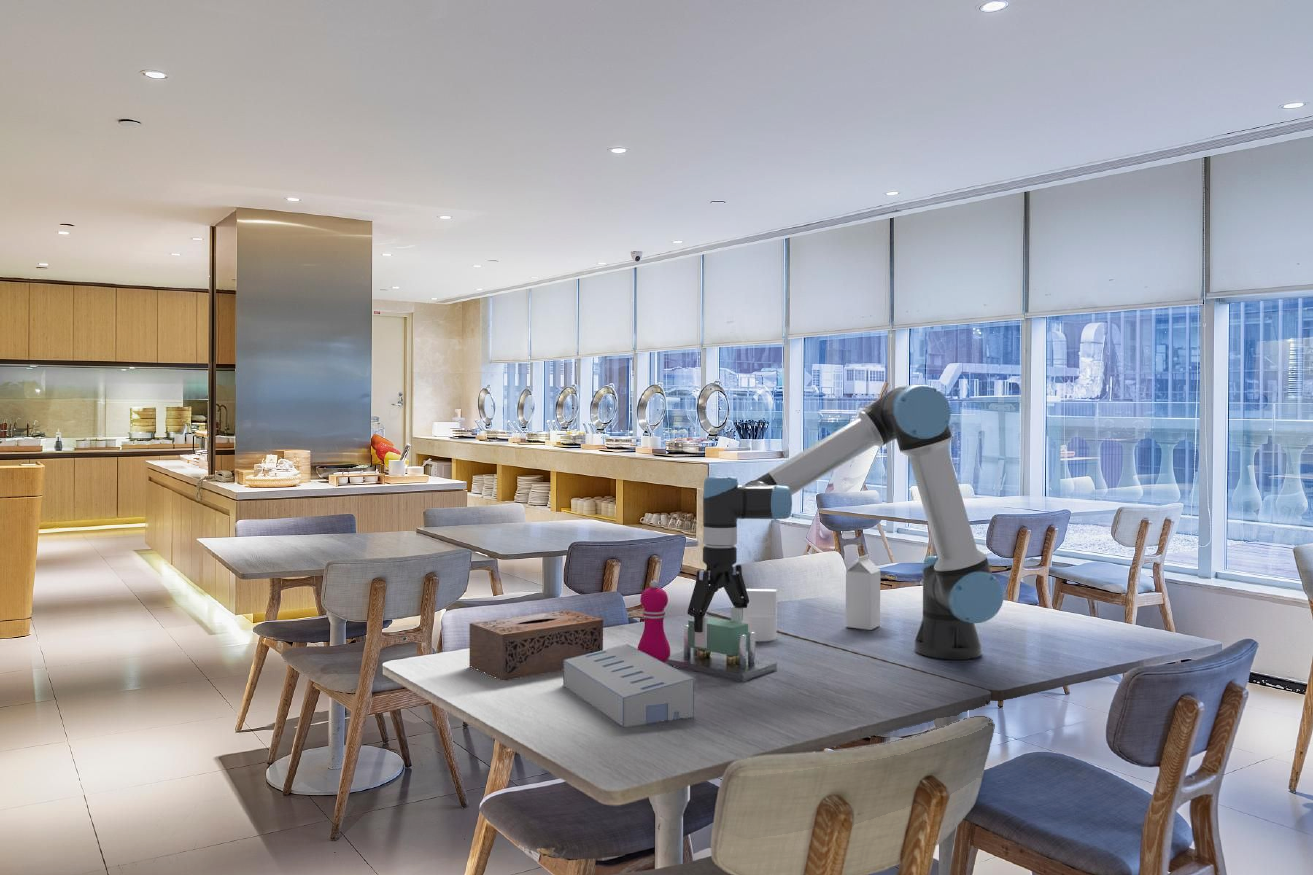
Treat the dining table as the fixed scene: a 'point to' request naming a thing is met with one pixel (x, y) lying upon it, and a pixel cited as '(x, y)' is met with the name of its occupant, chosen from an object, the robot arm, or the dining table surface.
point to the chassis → (723, 660)
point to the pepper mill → (654, 623)
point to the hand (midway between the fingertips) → (718, 641)
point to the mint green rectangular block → (720, 636)
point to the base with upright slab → (761, 613)
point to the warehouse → (630, 686)
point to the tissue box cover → (532, 643)
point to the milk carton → (863, 594)
